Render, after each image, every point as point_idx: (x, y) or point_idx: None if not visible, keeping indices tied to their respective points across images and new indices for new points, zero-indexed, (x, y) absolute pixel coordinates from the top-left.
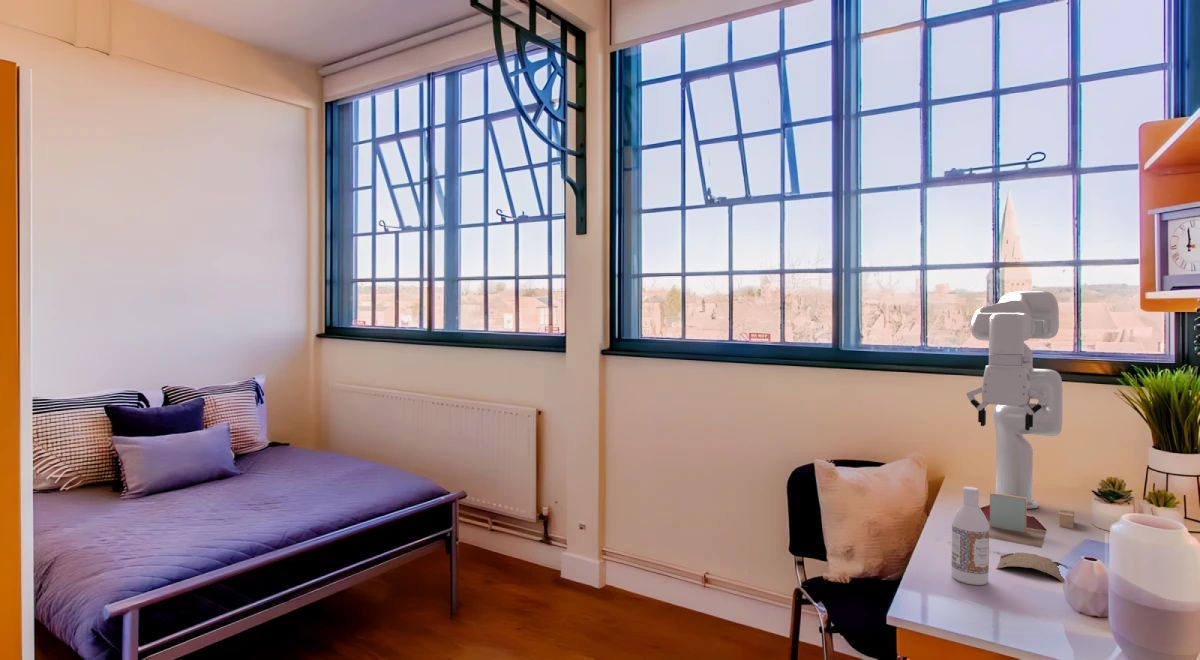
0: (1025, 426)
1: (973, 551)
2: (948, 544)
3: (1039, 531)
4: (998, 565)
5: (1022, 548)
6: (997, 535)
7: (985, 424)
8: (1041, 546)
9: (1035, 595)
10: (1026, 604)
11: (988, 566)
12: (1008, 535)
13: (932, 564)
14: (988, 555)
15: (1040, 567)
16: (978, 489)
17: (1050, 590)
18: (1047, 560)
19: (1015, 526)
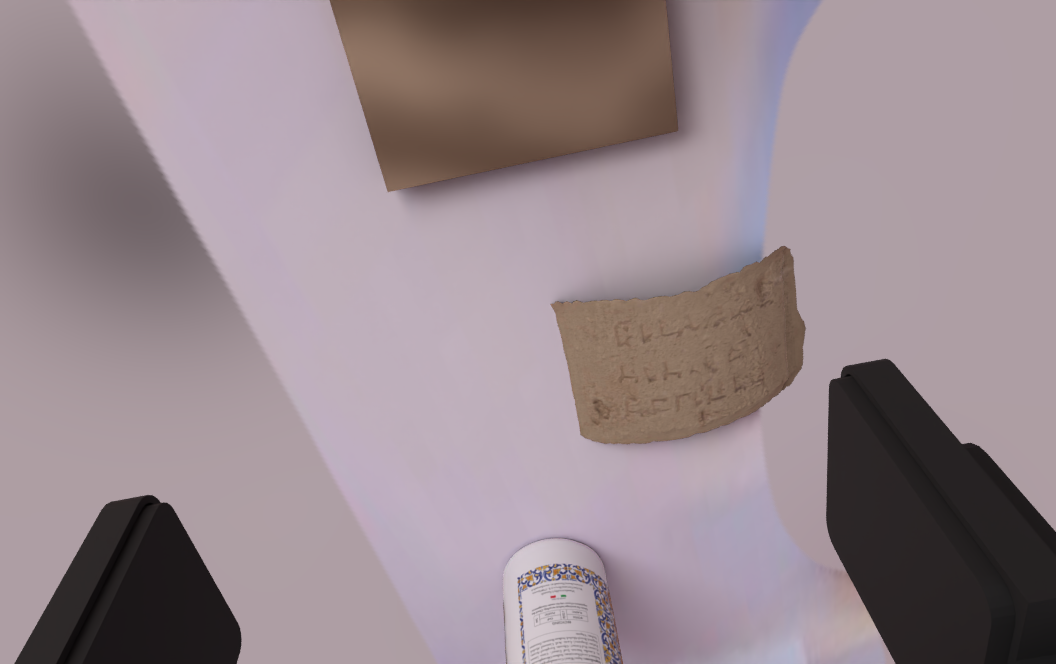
0: (854, 575)
1: None
2: (343, 325)
3: None
4: (579, 408)
5: None
6: (465, 102)
7: (171, 514)
8: (675, 111)
9: (726, 542)
10: (717, 606)
11: (611, 605)
12: (503, 48)
13: (420, 548)
14: (618, 640)
15: (721, 410)
16: None
17: (755, 481)
18: (728, 302)
19: None
